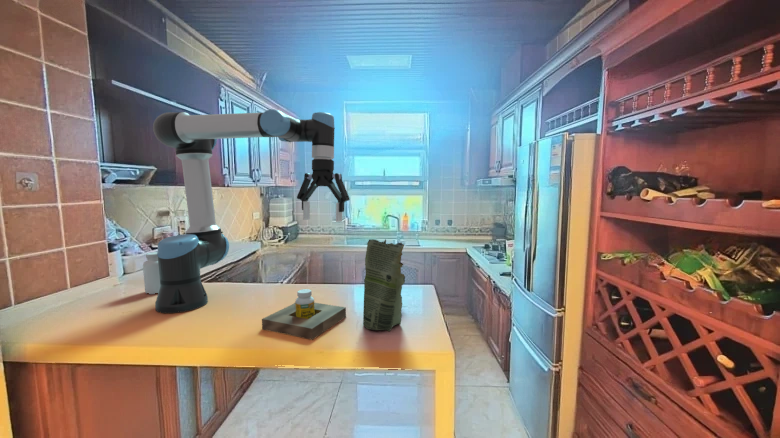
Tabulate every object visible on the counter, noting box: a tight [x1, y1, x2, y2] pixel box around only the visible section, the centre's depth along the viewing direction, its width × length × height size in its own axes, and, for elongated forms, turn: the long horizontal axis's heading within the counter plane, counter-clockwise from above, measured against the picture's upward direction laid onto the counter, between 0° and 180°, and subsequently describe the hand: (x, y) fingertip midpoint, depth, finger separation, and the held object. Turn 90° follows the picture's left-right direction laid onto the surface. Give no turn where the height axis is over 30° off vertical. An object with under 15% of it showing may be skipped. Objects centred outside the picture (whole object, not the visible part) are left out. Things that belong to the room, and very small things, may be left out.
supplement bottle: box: [294, 288, 315, 319], centre depth 101 cm, size 5×5×10 cm
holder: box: [261, 302, 347, 341], centre depth 101 cm, size 17×17×3 cm
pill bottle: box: [142, 251, 160, 295], centre depth 132 cm, size 8×8×15 cm
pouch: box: [362, 238, 406, 332], centre depth 98 cm, size 11×12×25 cm
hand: (322, 220), depth 121 cm, fingers open, 13 cm apart
